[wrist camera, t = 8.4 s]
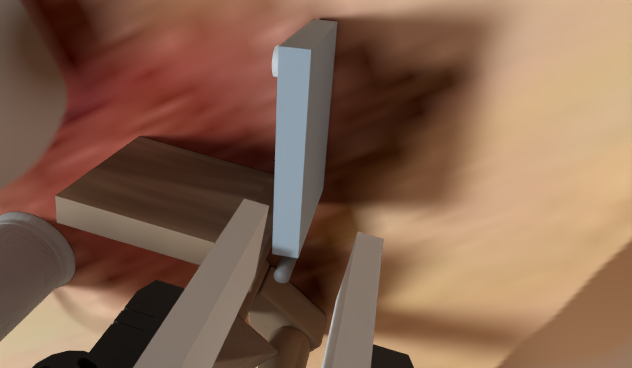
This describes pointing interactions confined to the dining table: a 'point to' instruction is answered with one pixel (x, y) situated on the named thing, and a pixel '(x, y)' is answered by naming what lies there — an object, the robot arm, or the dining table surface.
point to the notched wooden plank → (168, 201)
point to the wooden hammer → (272, 327)
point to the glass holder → (29, 265)
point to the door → (301, 130)
